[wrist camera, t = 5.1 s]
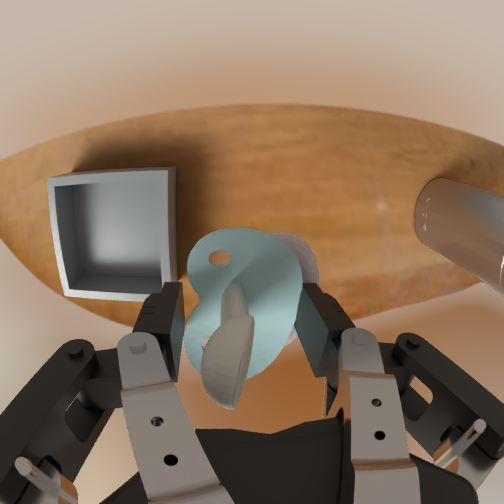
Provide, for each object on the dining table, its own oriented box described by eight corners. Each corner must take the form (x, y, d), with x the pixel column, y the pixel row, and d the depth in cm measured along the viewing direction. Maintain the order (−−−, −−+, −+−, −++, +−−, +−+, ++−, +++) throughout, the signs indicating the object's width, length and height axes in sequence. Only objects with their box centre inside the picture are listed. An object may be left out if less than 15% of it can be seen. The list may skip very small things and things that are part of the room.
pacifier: (328, 224, 12) (192, 208, 11) (417, 291, 6) (175, 279, 5) (294, 351, 14) (184, 348, 13) (332, 442, 9) (181, 453, 8)
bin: (176, 166, 24) (167, 170, 20) (178, 280, 28) (172, 303, 24) (70, 172, 22) (47, 178, 18) (82, 276, 26) (64, 295, 22)
